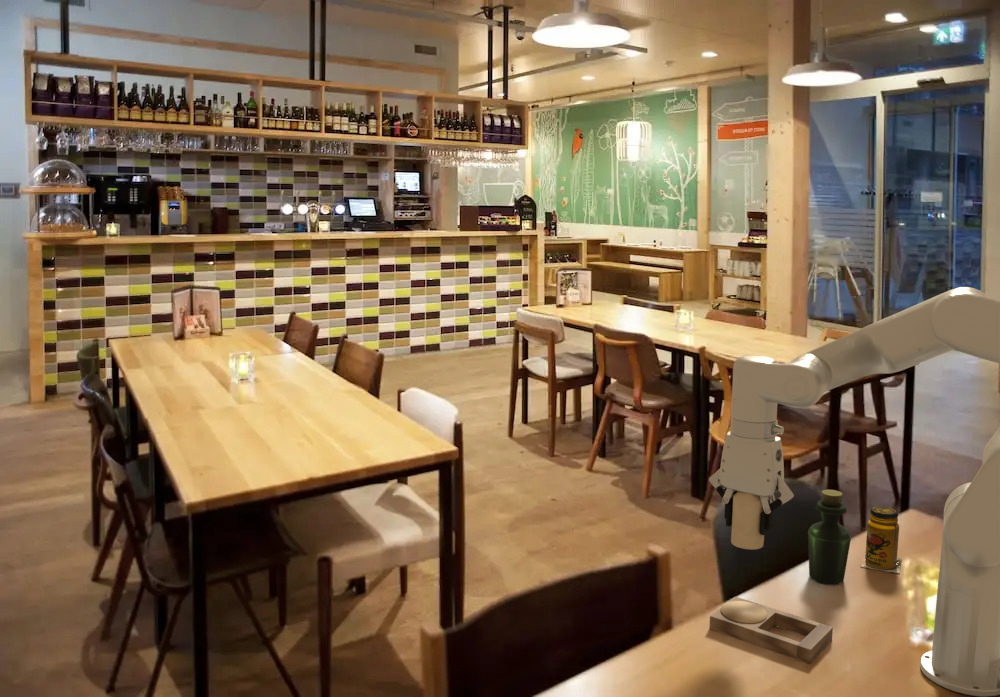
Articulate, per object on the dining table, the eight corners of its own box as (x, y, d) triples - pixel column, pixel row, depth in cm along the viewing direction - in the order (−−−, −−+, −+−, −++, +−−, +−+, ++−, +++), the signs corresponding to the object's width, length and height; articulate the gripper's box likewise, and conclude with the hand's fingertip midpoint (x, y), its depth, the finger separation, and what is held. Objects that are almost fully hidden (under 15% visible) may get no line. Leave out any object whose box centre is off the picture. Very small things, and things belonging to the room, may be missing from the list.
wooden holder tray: (832, 640, 149) (833, 625, 148) (809, 663, 141) (810, 648, 141) (734, 609, 160) (735, 595, 160) (709, 629, 153) (710, 614, 152)
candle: (765, 551, 148) (768, 495, 147) (731, 548, 149) (734, 493, 148) (762, 539, 154) (765, 485, 152) (730, 536, 155) (732, 483, 153)
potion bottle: (846, 572, 176) (852, 488, 173) (850, 589, 168) (856, 501, 165) (804, 567, 178) (809, 484, 175) (806, 584, 171) (811, 497, 168)
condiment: (860, 567, 179) (864, 512, 177) (864, 553, 186) (868, 500, 184) (899, 574, 175) (903, 518, 173) (901, 559, 183) (906, 505, 181)
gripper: (811, 432, 145) (804, 534, 148) (717, 416, 156) (713, 511, 159) (793, 441, 140) (787, 547, 143) (697, 424, 151) (693, 522, 154)
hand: (748, 527), depth 151 cm, fingers closed on candle, 5 cm apart
